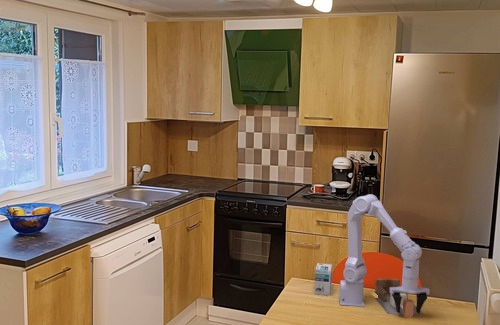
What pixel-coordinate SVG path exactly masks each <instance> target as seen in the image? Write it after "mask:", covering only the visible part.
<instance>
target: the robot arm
mask: <svg viewBox="0 0 500 325" xmlns="http://www.w3.org/2000/svg"><path fill="white" fill-rule="evenodd" d="M366 214H367V215H368V216H372V217H376V218H377V219H378V220H379V222H380V223H381V224H382V225H383V227H385V229H386V230H387V231H388V232H389V238H390V240H391V241H392V242H393V243H394V244H395V246H396V247H397V249H398V250H399V251H400V252H401V253H400V254H401V258H402V260H403V264H402V278H401V280H402V281H401V285H400V287H390V293H391V294H392V296H393V298H394V301H395V305H396V311H397V312H398V313H400V305H401V299H402V297H401V296H400V293H401V294H410V295H411V294H413V295H416V305H415V306H416V312H417V313H420V311H421V310H422V308H423V306H424V303H425V302H426V301H427V299H428V295H430V289H429V288H428V287H420V286H419V274H420V273H419V272H420V258H421V257H422V254H423V251H422V249H421V246H420V245H419V244H417V243H416V242H415V241H413V240H412V239H411V238H410V237H409V235H408V234H407V233H408V232H407V230H406V229H405V230H404V229H403V228H401V227H398V226H397V225H396V223H395V222H394V220H393V219H392V217H391V216H390V214H389V213H388V212H387V211H386V209H385V208H384V205H383V203H382V202H381V200H379V199H378V197H377V196H376V195H374V194H371V193H370V194H366V195H363V196H362V195H361V196H358V197H356V198H355V199H354V200H353V201H352V204H351V206H350V208H349V210H348V211H347V255H348V256H347V259H346V262H345V265H344V269H343V276H342V277H343V278H344V280H342V279H341V280H340V282H339V283H340V284H339V294H338V300H339V305H341V306H348V307H351V306H352V307H365V302H364V286H365V280H364V278H365V277H366V275H367V272H368V270H367V267H366V263H365V262H366V261H365V259H364V258H363V248H362V247H363V245H362V244H363V243H362V240H363V238H362V236H363V235H362V218H363V217H364V216H366ZM418 286H419V287H418ZM421 312H422V311H421Z"/></svg>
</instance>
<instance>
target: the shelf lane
mask: <svg viewBox="0 0 500 325" xmlns="http://www.w3.org/2000/svg"><path fill="white" fill-rule="evenodd" d="M400 283H401V280H400V279H399V278H375V284H374V285H375V286H374V292H375V293H376V294H377V295H378V298H374V299H375V300H376V301H377V303H378V304H379V305H380V306H381V307H382V309H383V310H384V311H385V313H386V314H387V315H402V311H403V309H402V308H400V313H398V312H397V311H396V308H394V307H393V306H392V305H391V303H390V294H391V293H390V287H400V286H401V284H400ZM406 295H407V299H409V298H408V297H409V296H408V294H406ZM413 315H424V313H423V312H422V311H420V313H417V312H416V305H415V304H414V308H413Z"/></svg>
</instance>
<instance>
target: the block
mask: <svg viewBox="0 0 500 325" xmlns="http://www.w3.org/2000/svg"><path fill="white" fill-rule="evenodd" d="M400 296H401V297H402V299H401V305H400V308H402V309H403V311H402V314H401V315H402V316H403V317H404V318H413V317H414V314H413V308H414V305H415V302H414V301H413V300H412V299H411V298H410V299H409V298H408V297H407V295H406V294H401V293H400ZM407 298H408V299H407ZM390 303H391V305H392V306H393V307H394V308H396V305H395V301H394V298H393V296H392V294H390Z"/></svg>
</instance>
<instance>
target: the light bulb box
mask: <svg viewBox="0 0 500 325" xmlns="http://www.w3.org/2000/svg"><path fill="white" fill-rule="evenodd" d="M314 272H315V274H314V276H315V278H314V295H319V294H321V295H320V296H328V295H330V296H331V293H332V284H333V283H332V282H333V281H332V279H333V278H332V277H333V264H332V263H323V262H322V263H320V262H317V264H316V266H315V271H314Z"/></svg>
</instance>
